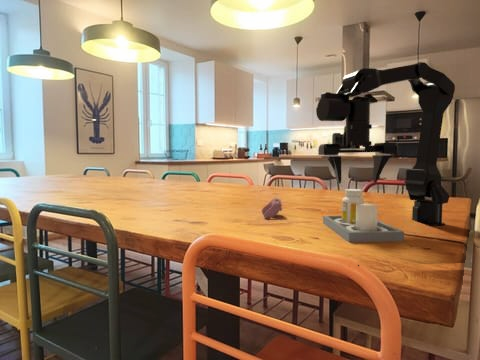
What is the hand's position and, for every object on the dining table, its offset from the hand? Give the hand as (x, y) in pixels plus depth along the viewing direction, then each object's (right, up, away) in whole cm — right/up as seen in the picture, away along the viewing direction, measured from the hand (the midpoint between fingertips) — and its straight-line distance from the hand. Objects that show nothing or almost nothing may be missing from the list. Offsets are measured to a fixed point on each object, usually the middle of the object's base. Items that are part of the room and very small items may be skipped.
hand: (357, 183), depth 88 cm
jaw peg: (-1, -12, -9) cm, 15 cm away
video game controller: (-20, -11, +22) cm, 32 cm away
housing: (-1, -13, -5) cm, 13 cm away
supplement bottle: (-1, -12, 0) cm, 12 cm away
